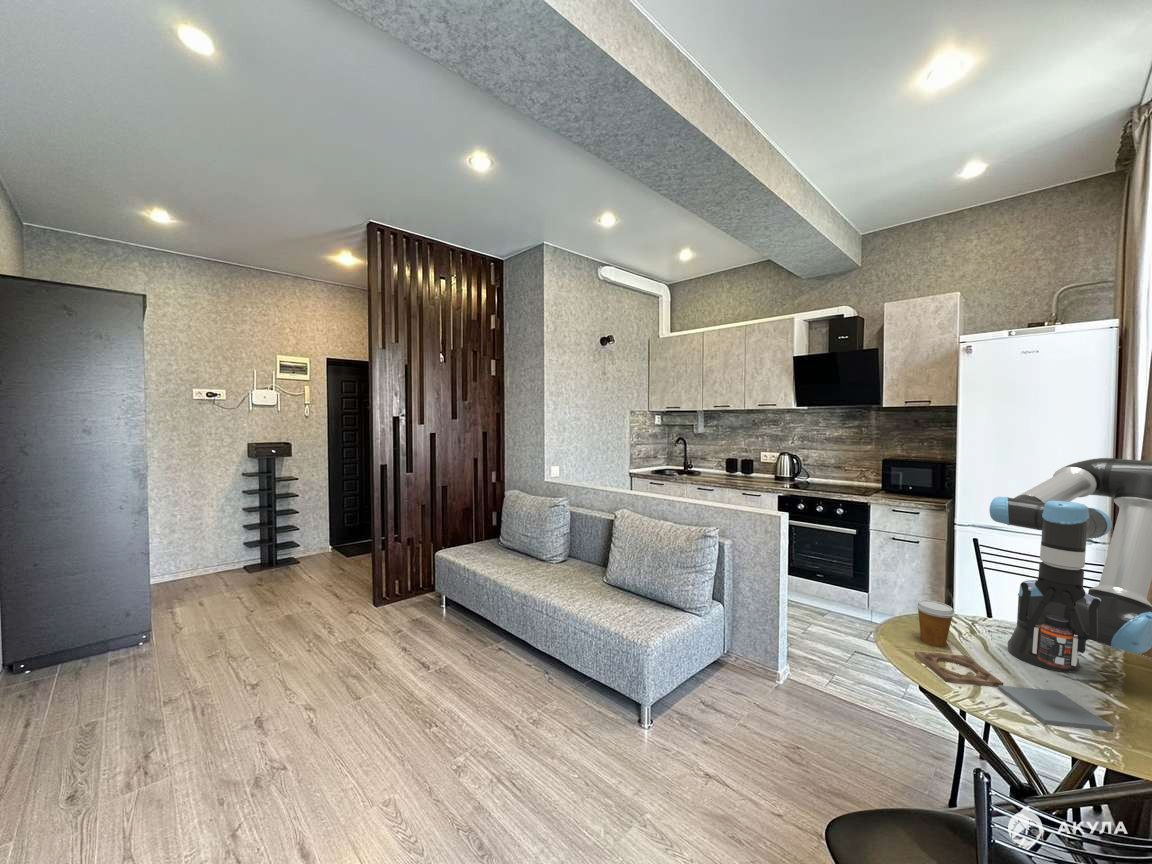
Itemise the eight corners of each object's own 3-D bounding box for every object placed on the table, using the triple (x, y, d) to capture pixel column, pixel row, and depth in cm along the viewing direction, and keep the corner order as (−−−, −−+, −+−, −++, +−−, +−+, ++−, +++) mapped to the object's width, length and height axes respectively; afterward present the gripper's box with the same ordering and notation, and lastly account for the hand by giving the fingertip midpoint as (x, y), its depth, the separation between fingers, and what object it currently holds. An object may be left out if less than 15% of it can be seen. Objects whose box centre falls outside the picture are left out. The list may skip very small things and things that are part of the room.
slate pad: (1057, 694, 119) (1057, 690, 119) (1112, 731, 106) (1113, 726, 106) (997, 688, 121) (998, 685, 121) (1044, 724, 107) (1044, 720, 107)
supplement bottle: (1069, 672, 109) (1073, 625, 108) (1034, 661, 113) (1037, 616, 113) (1073, 665, 112) (1077, 619, 112) (1039, 654, 117) (1042, 610, 116)
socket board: (965, 659, 136) (966, 655, 136) (1003, 687, 122) (1003, 683, 122) (914, 655, 138) (914, 651, 138) (945, 682, 124) (946, 677, 124)
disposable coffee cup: (960, 650, 141) (962, 612, 141) (929, 649, 141) (931, 611, 141) (936, 635, 151) (938, 599, 150) (907, 634, 151) (909, 598, 150)
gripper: (1122, 573, 107) (1114, 671, 108) (1011, 552, 122) (1005, 638, 123) (1120, 579, 102) (1112, 681, 103) (1005, 557, 117) (999, 645, 118)
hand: (1054, 657), depth 113 cm, fingers closed on supplement bottle, 6 cm apart
